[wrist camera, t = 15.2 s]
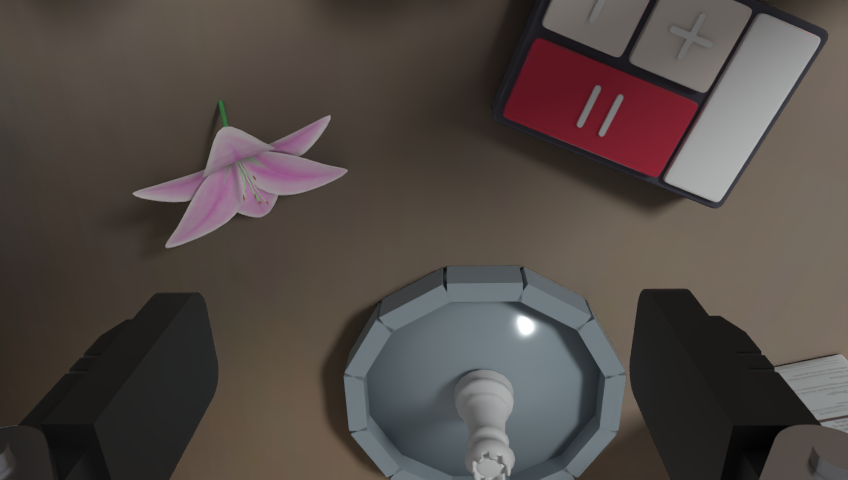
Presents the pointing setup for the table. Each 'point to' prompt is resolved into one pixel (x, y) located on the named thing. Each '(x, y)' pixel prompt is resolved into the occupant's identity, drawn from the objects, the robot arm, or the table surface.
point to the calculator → (658, 85)
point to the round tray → (489, 350)
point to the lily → (243, 178)
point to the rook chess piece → (486, 423)
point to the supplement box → (821, 388)
